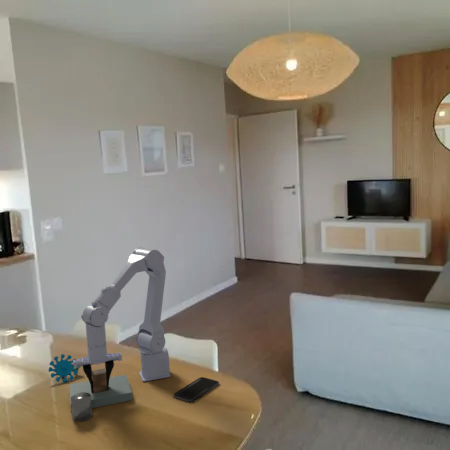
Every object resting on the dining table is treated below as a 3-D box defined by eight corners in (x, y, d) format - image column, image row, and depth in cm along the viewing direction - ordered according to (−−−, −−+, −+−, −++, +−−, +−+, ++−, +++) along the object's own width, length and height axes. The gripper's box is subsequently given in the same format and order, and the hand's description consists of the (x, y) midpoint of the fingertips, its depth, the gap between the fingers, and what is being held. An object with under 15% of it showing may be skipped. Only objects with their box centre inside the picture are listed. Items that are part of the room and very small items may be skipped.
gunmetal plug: (91, 410, 138) (90, 390, 137) (92, 419, 133) (91, 399, 132) (72, 414, 136) (70, 394, 135) (72, 423, 131) (70, 403, 130)
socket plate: (126, 381, 156) (125, 374, 156) (132, 400, 143) (132, 392, 143) (70, 391, 150) (69, 384, 150) (71, 412, 137) (70, 404, 137)
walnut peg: (106, 389, 149) (104, 368, 148) (107, 394, 145) (106, 373, 144) (93, 391, 147) (91, 370, 147) (94, 397, 144) (92, 375, 143)
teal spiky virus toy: (49, 382, 154) (48, 354, 160) (47, 389, 158) (45, 362, 164) (83, 378, 159) (80, 351, 165) (80, 386, 163) (77, 359, 169)
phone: (171, 395, 144) (201, 376, 156) (171, 398, 144) (201, 379, 156) (191, 401, 139) (220, 381, 151) (191, 404, 139) (220, 385, 151)
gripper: (72, 352, 139) (76, 395, 140) (121, 344, 143) (124, 386, 145) (72, 344, 145) (75, 385, 147) (119, 337, 150) (122, 377, 151)
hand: (99, 385), depth 146 cm, fingers closed on walnut peg, 4 cm apart
